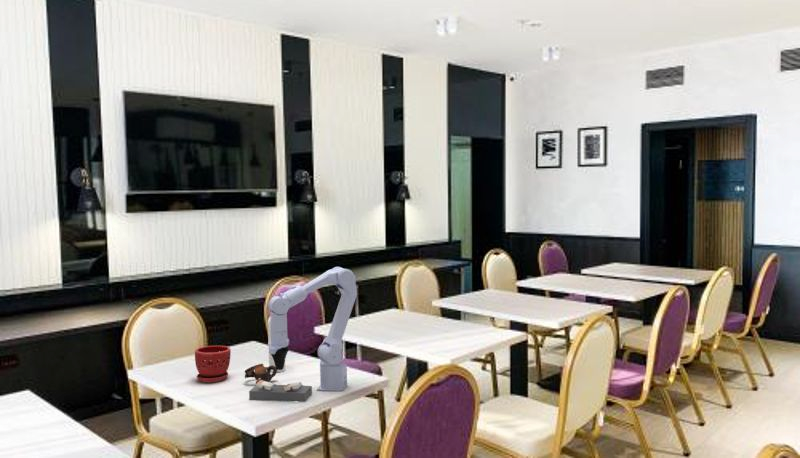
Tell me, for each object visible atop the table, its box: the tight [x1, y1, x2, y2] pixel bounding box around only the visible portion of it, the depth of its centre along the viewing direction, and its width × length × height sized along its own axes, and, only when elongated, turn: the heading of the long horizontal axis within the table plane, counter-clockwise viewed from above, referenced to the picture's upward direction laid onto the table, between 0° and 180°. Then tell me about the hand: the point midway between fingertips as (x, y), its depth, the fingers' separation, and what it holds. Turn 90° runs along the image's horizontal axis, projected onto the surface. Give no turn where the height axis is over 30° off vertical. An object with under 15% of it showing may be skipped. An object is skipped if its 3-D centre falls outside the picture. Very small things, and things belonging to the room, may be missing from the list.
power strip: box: [248, 383, 313, 403], centre depth 219 cm, size 20×8×3 cm, turn 80°
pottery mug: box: [244, 363, 278, 385], centre depth 236 cm, size 12×10×8 cm
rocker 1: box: [256, 380, 275, 390], centre depth 218 cm, size 5×4×2 cm
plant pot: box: [194, 345, 232, 383], centre depth 241 cm, size 13×13×12 cm
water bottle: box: [267, 315, 286, 373], centre depth 252 cm, size 9×6×25 cm
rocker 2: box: [284, 381, 302, 391], centre depth 216 cm, size 5×4×2 cm
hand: (279, 369), depth 219 cm, fingers closed
